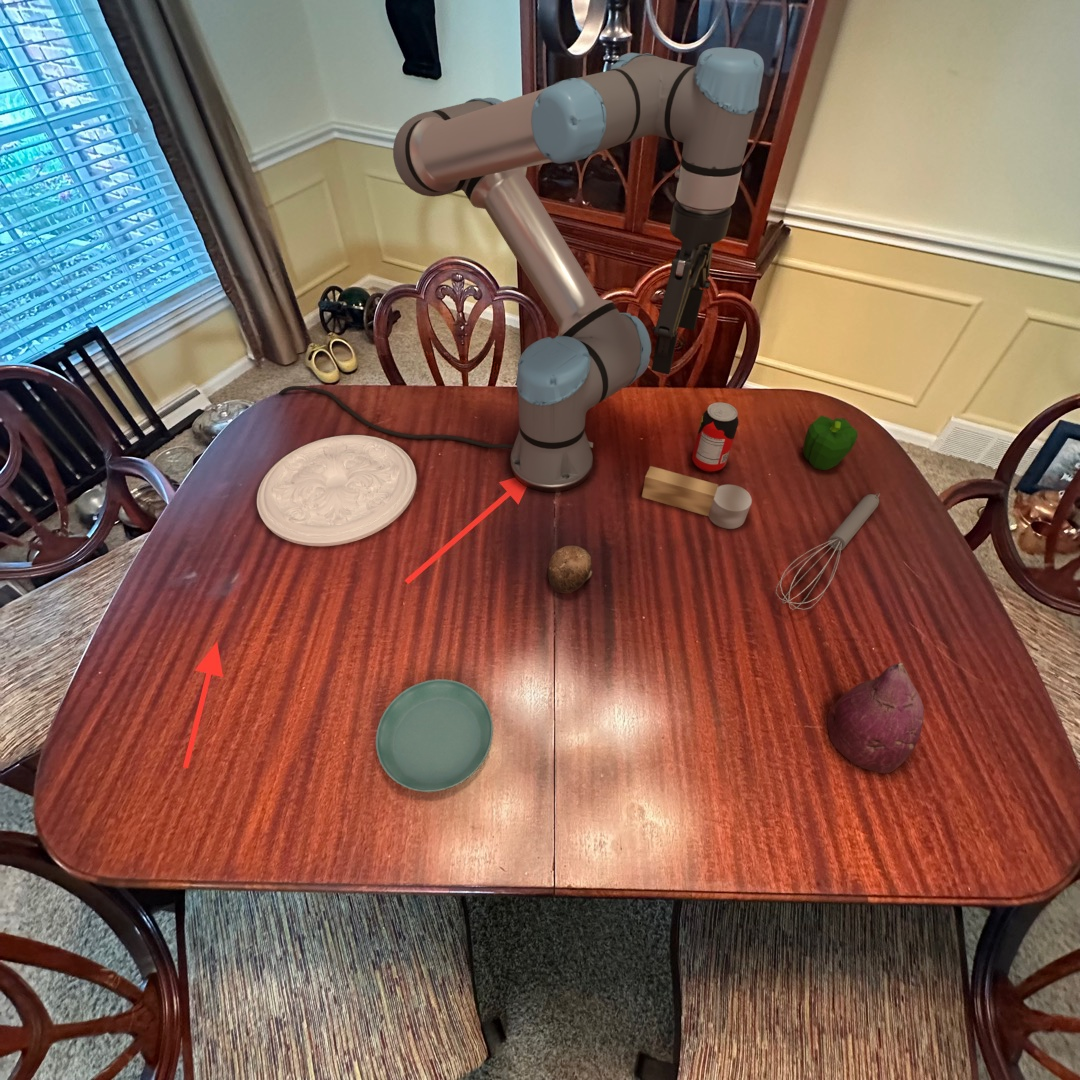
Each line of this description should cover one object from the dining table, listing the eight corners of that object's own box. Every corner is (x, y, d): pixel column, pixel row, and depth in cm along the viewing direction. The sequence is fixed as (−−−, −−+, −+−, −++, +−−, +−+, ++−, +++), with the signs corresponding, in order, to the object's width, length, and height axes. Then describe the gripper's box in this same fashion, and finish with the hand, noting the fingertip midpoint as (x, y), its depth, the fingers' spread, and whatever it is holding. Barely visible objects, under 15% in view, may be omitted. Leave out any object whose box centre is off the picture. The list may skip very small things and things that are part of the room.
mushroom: (611, 559, 93) (589, 541, 89) (592, 606, 91) (569, 589, 87) (573, 553, 99) (551, 536, 95) (555, 597, 97) (531, 581, 93)
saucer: (434, 825, 71) (431, 818, 69) (356, 746, 77) (351, 737, 75) (517, 734, 78) (516, 725, 76) (440, 668, 85) (437, 658, 83)
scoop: (638, 503, 106) (642, 482, 102) (649, 480, 110) (653, 459, 106) (741, 533, 101) (748, 513, 98) (748, 508, 105) (756, 487, 101)
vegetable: (810, 714, 83) (823, 637, 75) (886, 704, 83) (907, 625, 74) (846, 782, 75) (864, 703, 66) (930, 771, 74) (960, 690, 66)
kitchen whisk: (891, 507, 105) (907, 480, 101) (799, 627, 89) (813, 603, 84) (857, 490, 108) (871, 464, 103) (762, 604, 92) (774, 579, 87)
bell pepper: (809, 440, 117) (828, 397, 110) (850, 459, 113) (871, 417, 106) (788, 461, 113) (805, 418, 106) (829, 482, 110) (850, 439, 102)
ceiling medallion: (425, 528, 102) (422, 516, 100) (253, 560, 98) (246, 547, 95) (408, 428, 120) (405, 415, 118) (262, 451, 116) (256, 438, 113)
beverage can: (732, 464, 113) (748, 412, 104) (710, 479, 110) (725, 427, 101) (706, 447, 116) (719, 395, 107) (684, 461, 113) (696, 409, 104)
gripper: (701, 167, 86) (674, 306, 103) (644, 234, 72) (624, 384, 88) (753, 176, 84) (717, 316, 100) (706, 247, 70) (673, 398, 86)
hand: (674, 348), depth 94 cm, fingers open, 13 cm apart
